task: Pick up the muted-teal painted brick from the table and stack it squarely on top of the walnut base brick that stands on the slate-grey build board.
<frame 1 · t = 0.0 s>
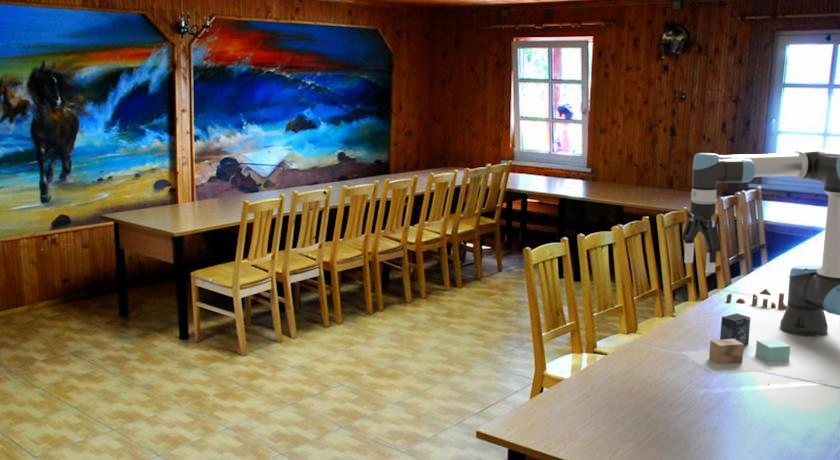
hand: (699, 267, 260), 28 cm above the table, fingers open, 13 cm apart
teal brick: (771, 361, 256), on the table
box: (733, 347, 269), on the table
base brick: (725, 360, 252), point 1 cm above the table, touching build board
build board: (725, 364, 253), on the table
wooden blocks: (767, 307, 317), on the table
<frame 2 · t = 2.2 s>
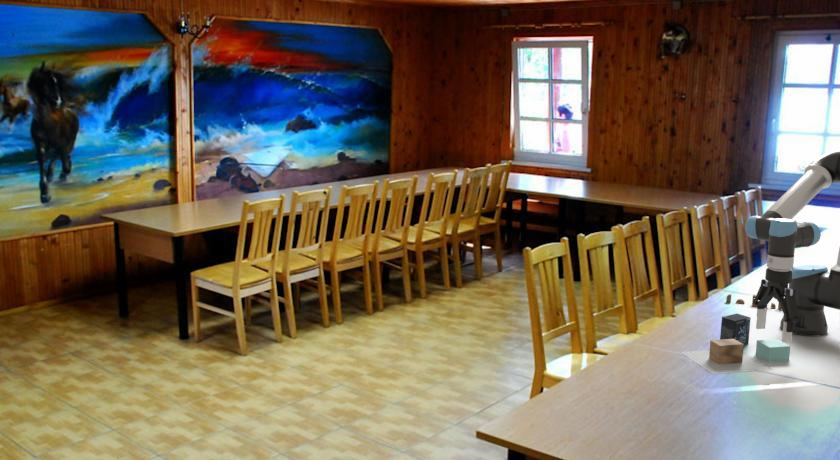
hand: (773, 335, 254), 9 cm above the table, fingers open, 13 cm apart
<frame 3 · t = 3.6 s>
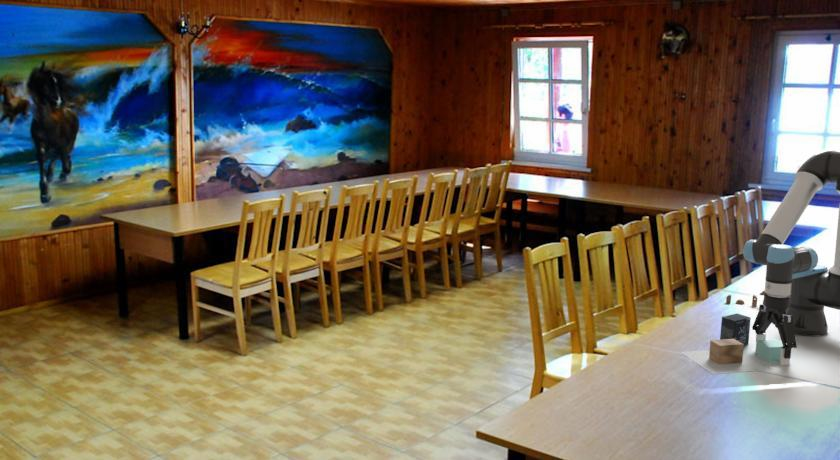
hand: (771, 360, 255), 0 cm above the table, fingers open, 12 cm apart
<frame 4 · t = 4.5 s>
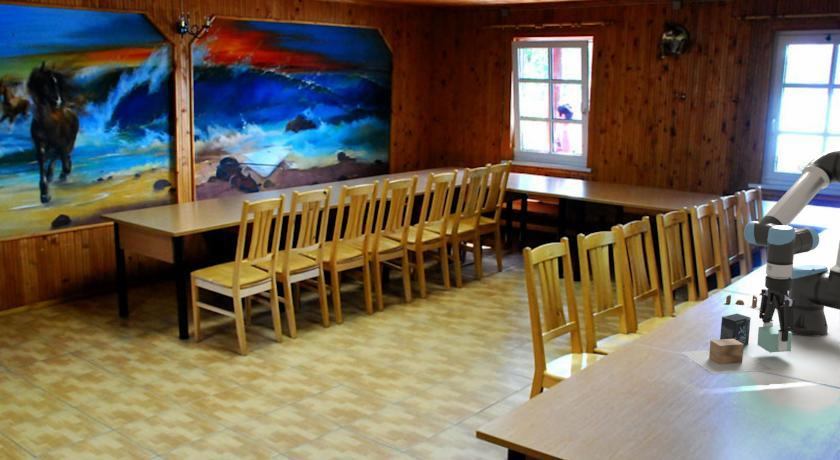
hand: (774, 346, 255), 5 cm above the table, fingers closed on teal brick, 7 cm apart
teal brick: (773, 347, 255), point 4 cm above the table, touching gripper
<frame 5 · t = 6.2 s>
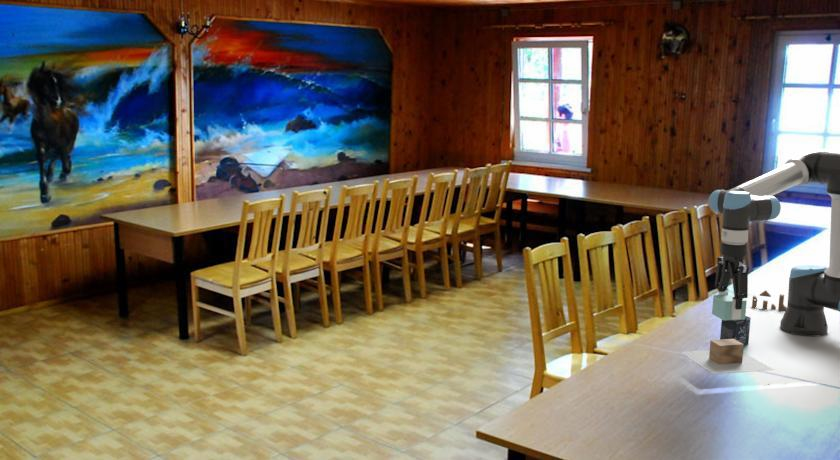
hand: (728, 315, 250), 16 cm above the table, fingers closed on teal brick, 7 cm apart
teal brick: (728, 316, 250), point 15 cm above the table, touching gripper
when the fingers open (8 cm above the table, at t = 7.9 s): teal brick stays where it is, resting on base brick.
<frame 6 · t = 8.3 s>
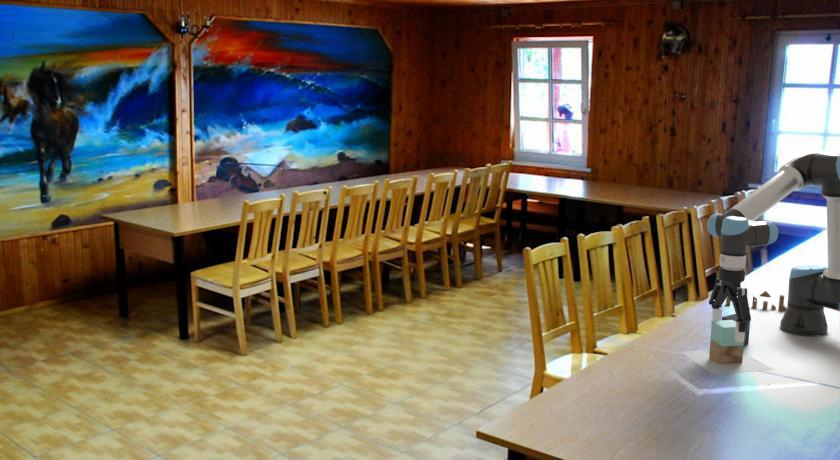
hand: (727, 335, 251), 10 cm above the table, fingers open, 12 cm apart
teal brick: (726, 342, 251), point 7 cm above the table, touching base brick
base brick: (725, 360, 252), point 1 cm above the table, touching build board, teal brick
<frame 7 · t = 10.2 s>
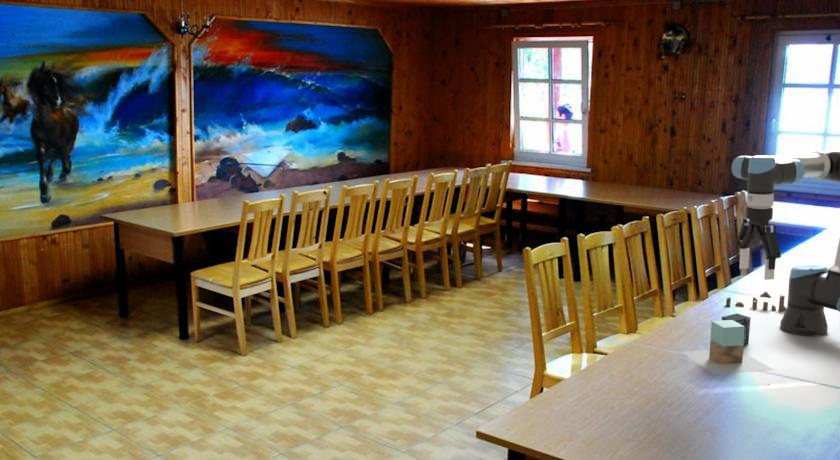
hand: (756, 273, 252), 28 cm above the table, fingers open, 13 cm apart
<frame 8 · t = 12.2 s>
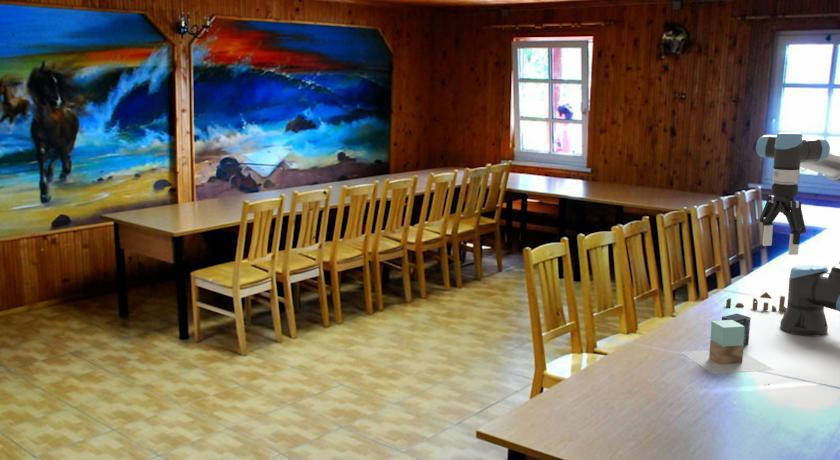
hand: (779, 249, 254), 35 cm above the table, fingers open, 13 cm apart
at the end: teal brick 0.1 cm off-centre on the base brick, point 6.0 cm above the base brick's base; teal brick tilted 0°; base brick moved 0.1 cm from its start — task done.
